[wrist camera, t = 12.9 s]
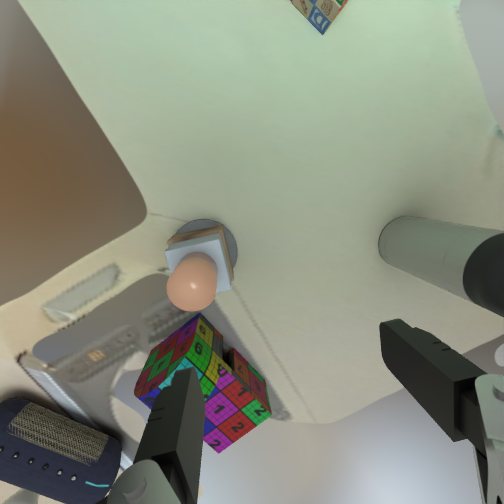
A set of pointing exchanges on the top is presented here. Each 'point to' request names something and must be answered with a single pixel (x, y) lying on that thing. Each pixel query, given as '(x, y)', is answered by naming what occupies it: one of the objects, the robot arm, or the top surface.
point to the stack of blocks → (320, 11)
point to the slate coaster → (210, 223)
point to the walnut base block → (202, 233)
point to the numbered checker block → (209, 381)
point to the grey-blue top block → (208, 246)
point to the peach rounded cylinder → (193, 282)
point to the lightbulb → (23, 497)
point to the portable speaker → (55, 454)
